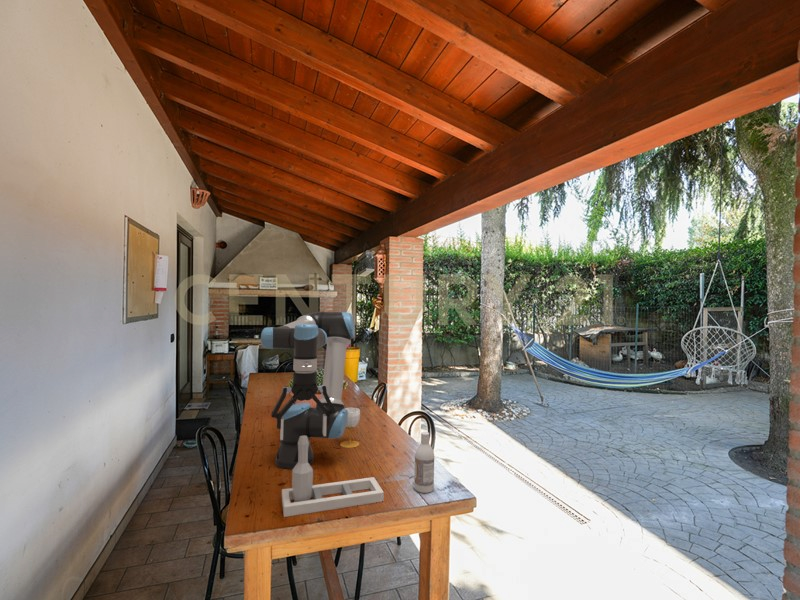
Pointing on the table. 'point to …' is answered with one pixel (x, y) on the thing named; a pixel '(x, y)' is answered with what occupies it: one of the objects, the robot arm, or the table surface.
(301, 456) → the low poly bottle
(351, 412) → the cup
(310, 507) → the white rectangular compartment rack
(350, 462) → the table surface
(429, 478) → the bath foam
